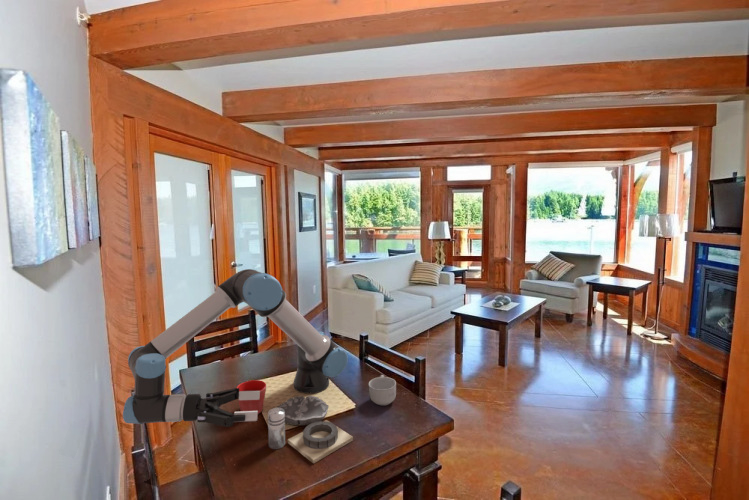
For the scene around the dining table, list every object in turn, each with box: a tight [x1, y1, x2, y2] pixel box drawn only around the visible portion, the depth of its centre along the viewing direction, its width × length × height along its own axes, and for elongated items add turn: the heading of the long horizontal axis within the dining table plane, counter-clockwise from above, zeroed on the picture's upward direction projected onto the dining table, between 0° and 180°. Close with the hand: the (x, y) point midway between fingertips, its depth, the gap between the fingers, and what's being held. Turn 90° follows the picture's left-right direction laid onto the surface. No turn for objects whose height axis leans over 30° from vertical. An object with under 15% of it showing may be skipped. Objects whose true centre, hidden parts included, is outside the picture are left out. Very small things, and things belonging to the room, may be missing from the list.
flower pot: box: [236, 379, 267, 415], centre depth 139 cm, size 11×11×10 cm
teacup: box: [368, 374, 397, 406], centre depth 149 cm, size 14×11×8 cm
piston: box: [267, 407, 286, 450], centre depth 120 cm, size 5×5×11 cm
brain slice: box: [275, 395, 329, 426], centre depth 138 cm, size 20×17×3 cm
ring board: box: [287, 419, 354, 464], centre depth 122 cm, size 14×16×4 cm
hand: (258, 404), depth 117 cm, fingers open, 13 cm apart
